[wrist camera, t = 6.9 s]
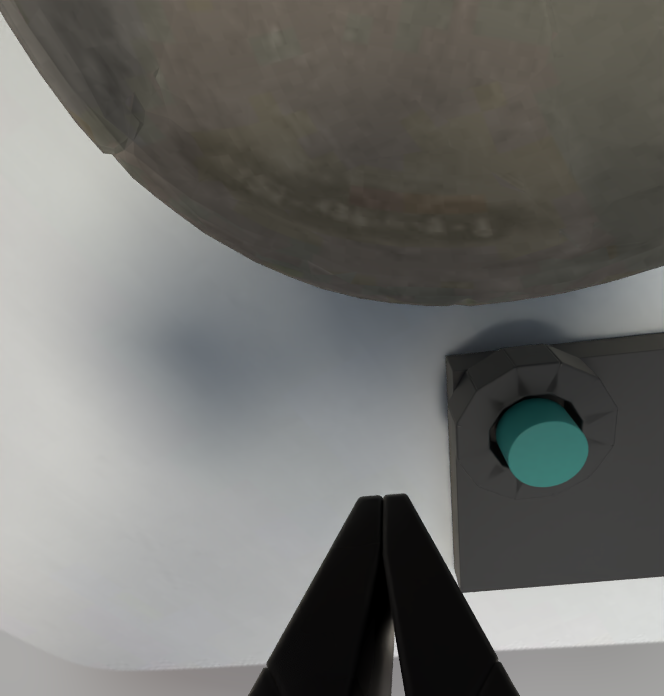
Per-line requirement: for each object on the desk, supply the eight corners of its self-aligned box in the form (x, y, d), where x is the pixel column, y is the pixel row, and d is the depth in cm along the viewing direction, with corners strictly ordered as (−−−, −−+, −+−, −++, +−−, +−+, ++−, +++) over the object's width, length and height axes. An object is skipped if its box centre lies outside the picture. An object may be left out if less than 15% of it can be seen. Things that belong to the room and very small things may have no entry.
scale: (448, 569, 25) (462, 625, 22) (438, 338, 20) (453, 373, 18) (765, 542, 24) (820, 597, 22) (829, 296, 20) (909, 325, 17)
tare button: (495, 463, 20) (507, 491, 18) (495, 401, 19) (508, 425, 17) (568, 457, 19) (586, 484, 18) (572, 393, 18) (591, 417, 17)
